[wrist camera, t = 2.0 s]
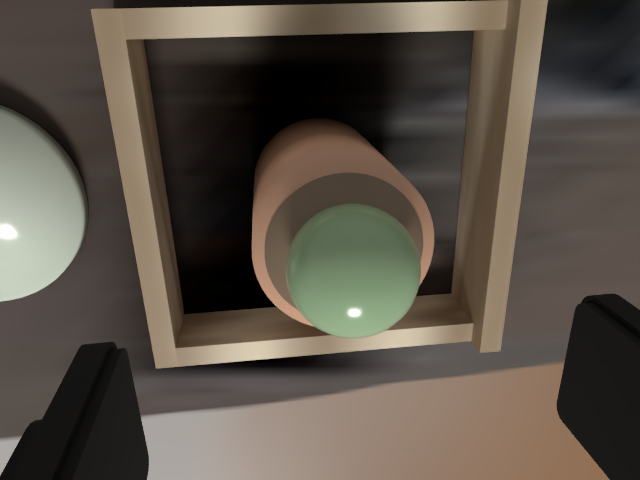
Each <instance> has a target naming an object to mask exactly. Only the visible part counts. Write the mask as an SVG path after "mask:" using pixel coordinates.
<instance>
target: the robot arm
mask: <svg viewBox="0 0 640 480" xmlns="http://www.w3.org/2000/svg"><path fill="white" fill-rule="evenodd" d="M557 411H558V414H559V417H560V419H561V420H562V422H563V423H564V424H565V425H566V427H567V428H568V429H569V430H570V431H571V433H572V434H573V435H574V436H575V438H576V439H577V440H578V441H579V442H580V444H581V445H582V446H583V447H584V449H585V450H586V451H587V452H588V453H589V455H590V456H591V457H592V458H593V459H594V461H595V462H596V463H597V464H598V466H599V467H600V468H601V469H602V470H603V471H604V473H605V474H606V475H607V477H608V478H609V479H610V480H640V310H639V309H637V308H636V307H635V306H633V305H632V304H630V303H629V302H627V301H626V300H625V299H623V298H622V297H620V296H619V295H616V294H603V295H592V296H587V297H585V298H584V299H583V300H582V303H580V304H578V305H577V307H576V309H575V313H574V318H573V323H572V328H571V333H570V338H569V343H568V348H567V353H566V358H565V364H564V369H563V374H562V379H561V384H560V389H559V394H558V399H557ZM148 467H149V457H148V450H147V446H146V441H145V436H144V431H143V426H142V422H141V416H140V411H139V407H138V402H137V397H136V392H135V387H134V382H133V377H132V372H131V368H130V363H129V358H128V354H127V351H126V349H125V348H121V349H117V346H116V344H115V343H114V342H105V343H94V344H84V345H81V347H80V348H79V350H78V351H77V353H76V355H75V357H74V359H73V361H72V363H71V365H70V367H69V369H68V371H67V373H66V375H65V376H64V378H63V380H62V382H61V384H60V386H59V388H58V390H57V392H56V394H55V396H54V398H53V400H52V401H51V403H50V405H49V407H48V409H47V411H46V413H45V415H44V417H43V419H42V420H35V421H34V422H32V423H30V425H29V426H28V427H27V429H26V430H25V432H24V434H23V436H22V437H21V439H20V441H19V443H18V445H17V447H16V448H15V450H14V452H13V454H12V456H11V457H10V459H9V461H8V463H7V465H6V467H5V469H4V470H3V472H2V474H1V476H0V480H147V475H148Z"/></svg>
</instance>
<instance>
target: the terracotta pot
mask: <svg viewBox="0 0 640 480" xmlns="http://www.w3.org/2000/svg"><path fill="white" fill-rule="evenodd" d="M433 249H434V229H433V222H432V219H431V215H430V212H429V210H428V208H427V205H426V203H425V201H424V200H423V198H422V197H421V195H420V194H419V192H418V191H417V190H416V189H415V188H414V186H413V185H412V184H411V183H410V182H409V181H408V180H407V179H406V178H405V177H404V176H403V175H402V174H401V173H400V172H399V171H398V170H397V169H396V168H395V167H394V166H393V165H392V164H391V163H390V162H389V161H388V160H387V159H386V158H385V157H384V156H383V155H382V154H381V153H380V152H379V151H378V150H377V149H376V148H374V147H373V146H372V145H371V144H370V143H369V142H368V141H367V140H366V139H365V138H364V137H363V136H362V135H361V134H360V133H359V132H358V131H356V130H355V129H353V128H352V127H350V126H349V125H346V124H344V123H342V122H339V121H336V120H331V119H325V118H314V119H306V120H302V121H299V122H296V123H293V124H291V125H289V126H287V127H286V128H284V129H282V130H281V131H280V132H278V133H277V134H276V135H275V136H274V137H273V138H272V139H271V140H270V141H269V142H268V143H267V145H266V146H265V147H264V149H263V151H262V152H261V154H260V156H259V159H258V161H257V164H256V168H255V174H254V192H253V225H252V260H253V266H254V270H255V273H256V277H257V279H258V281H259V283H260V286H261V288H262V289H263V291H264V292H265V294H266V295H267V297H268V298H269V299H270V300H271V301H272V302H273V304H274V305H275V306H277V307H278V308H279V309H280V310H281V311H282V312H284V313H285V314H287V315H288V316H290V317H291V318H293V319H295V320H297V321H299V322H302V323H304V324H307V325H310V326H314V327H316V328H318V329H319V330H321V331H324V332H326V333H328V334H330V335H333V336H336V337H341V338H350V339H353V338H365V337H370V336H374V335H377V334H379V333H382V332H384V331H385V330H387V329H389V328H390V327H392V326H393V325H395V324H396V323H397V322H398V321H399V320H400V319H401V318H402V317H403V316H404V315H405V314H406V313H407V312H408V310H409V309H410V307H411V305H412V304H413V302H414V300H415V297H416V295H417V292H418V289H419V286H420V284H421V283H422V281H423V279H424V277H425V276H426V273H427V271H428V269H429V266H430V263H431V259H432V256H433Z"/></svg>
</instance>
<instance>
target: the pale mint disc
mask: <svg viewBox="0 0 640 480" xmlns="http://www.w3.org/2000/svg"><path fill="white" fill-rule="evenodd" d="M88 221H89V207H88V200H87V194H86V191H85V187H84V184H83V181H82V179H81V176H80V174H79V172H78V170H77V168H76V166H75V165H74V163H73V161H72V160H71V158H70V157H69V155H68V154H67V153H66V151H65V150H64V149H63V148H62V146H61V145H60V144H59V143H58V142H57V141H56V140H55V139H54V138H53V137H52V136H51V135H50V134H49V133H47V132H46V131H45V130H44V129H43V128H42V127H40V126H39V125H38V124H36V123H35V122H33V121H32V120H30V119H29V118H27V117H25V116H23V115H22V114H20V113H18V112H16V111H14V110H12V109H9V108H7V107H4V106H2V105H0V301H7V300H13V299H17V298H21V297H25V296H27V295H30V294H32V293H35V292H37V291H39V290H41V289H43V288H44V287H46V286H48V285H49V284H50V283H52V282H53V281H54V280H56V279H57V278H58V277H59V276H60V275H61V274H62V273H63V272H64V271H65V269H66V268H67V267H68V266H69V264H70V263H71V262H72V261H73V259H74V258H75V256H76V255H77V254H78V252H79V250H80V248H81V246H82V244H83V242H84V239H85V236H86V233H87V227H88Z"/></svg>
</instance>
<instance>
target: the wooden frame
mask: <svg viewBox="0 0 640 480" xmlns="http://www.w3.org/2000/svg"><path fill="white" fill-rule="evenodd" d="M547 3H548V0H496V1H449V2H402V3H355V4H309V5H262V6H215V7H168V8H122V9H91V13H92V19H93V24H94V30H95V35H96V41H97V46H98V52H99V57H100V63H101V68H102V74H103V79H104V85H105V90H106V96H107V101H108V107H109V112H110V118H111V123H112V129H113V134H114V140H115V145H116V151H117V156H118V162H119V167H120V173H121V178H122V184H123V189H124V195H125V200H126V206H127V211H128V217H129V222H130V228H131V233H132V239H133V244H134V250H135V255H136V261H137V266H138V272H139V277H140V283H141V288H142V294H143V299H144V305H145V310H146V316H147V321H148V327H149V332H150V338H151V343H152V349H153V354H154V360H155V365H156V368H168V367H179V366H191V365H202V364H213V363H225V362H236V361H248V360H259V359H271V358H282V357H294V356H305V355H316V354H328V353H339V352H351V351H362V350H374V349H385V348H396V347H408V346H419V345H431V344H442V343H454V342H465V341H472V342H473V344H474V345H475V347H476V348H477V350H478V351H479V353H485V352H496V351H500V349H501V342H502V335H503V327H504V320H505V312H506V305H507V298H508V290H509V283H510V276H511V268H512V261H513V254H514V246H515V239H516V231H517V224H518V217H519V209H520V202H521V195H522V187H523V180H524V173H525V165H526V158H527V151H528V143H529V136H530V128H531V121H532V114H533V106H534V99H535V92H536V84H537V77H538V70H539V62H540V55H541V47H542V40H543V33H544V25H545V18H546V11H547ZM463 30H474V38H473V49H472V61H471V72H470V84H469V95H468V107H467V118H466V130H465V142H464V153H463V165H462V176H461V188H460V199H459V211H458V222H457V234H456V246H455V257H454V269H453V280H452V292H451V293H450V294H437V295H425V296H416V297H415V300H414V302H413V304H412V305H411V307H410V309H409V310H408V312H407V313H406V314H405V315H404V316H403V317H402V318H401V319H400V320H399V321H398V322H397V323H396V324H395V325H393V326H392V327H390V328H389V329H387V330H385V331H384V332H382V333H379V334H377V335H374V336H370V337H365V338H353V339H350V338H341V337H336V336H333V335H330V334H328V333H326V332H324V331H321V330H319V329H318V328H316V327H314V326H310V325H307V324H304V323H302V322H299V321H297V320H295V319H293V318H291V317H290V316H288V315H287V314H285V313H284V312H282V311H281V310H280V309H279V308H278V307H271V308H258V309H245V310H232V311H219V312H206V313H194V314H184V308H183V302H182V295H181V288H180V281H179V275H178V268H177V261H176V254H175V248H174V241H173V234H172V227H171V221H170V214H169V207H168V200H167V193H166V187H165V180H164V173H163V166H162V160H161V153H160V146H159V139H158V133H157V126H156V119H155V112H154V106H153V99H152V92H151V85H150V79H149V72H148V65H147V58H146V52H145V45H144V39H167V38H204V37H241V36H278V35H315V34H352V33H389V32H426V31H463Z"/></svg>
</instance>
